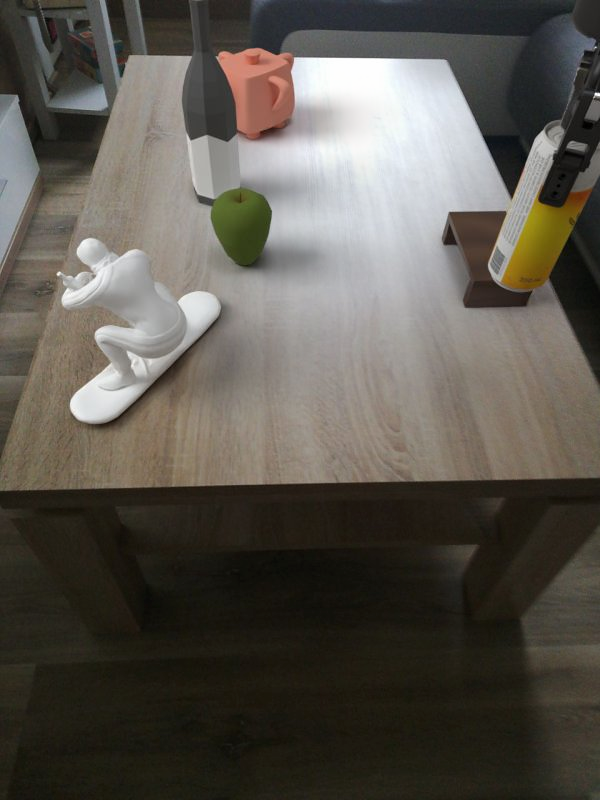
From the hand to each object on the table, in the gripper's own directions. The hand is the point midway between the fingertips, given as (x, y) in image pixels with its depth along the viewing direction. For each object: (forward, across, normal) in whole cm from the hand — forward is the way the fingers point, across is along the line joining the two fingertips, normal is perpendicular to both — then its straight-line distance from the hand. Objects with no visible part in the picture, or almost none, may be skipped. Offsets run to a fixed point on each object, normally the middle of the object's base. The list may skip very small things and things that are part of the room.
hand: (555, 183), depth 50 cm
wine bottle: (+29, +22, +49) cm, 61 cm away
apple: (+29, +9, +37) cm, 48 cm away
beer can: (+11, 0, 0) cm, 11 cm away
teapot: (+29, +46, +55) cm, 77 cm away
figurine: (+28, -14, +39) cm, 50 cm away
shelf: (+28, +22, +3) cm, 36 cm away
